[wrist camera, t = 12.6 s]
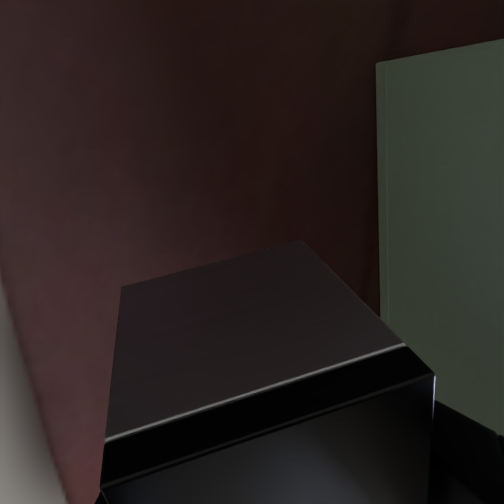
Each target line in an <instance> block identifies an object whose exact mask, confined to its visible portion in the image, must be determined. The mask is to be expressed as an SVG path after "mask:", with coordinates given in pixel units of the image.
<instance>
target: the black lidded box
mask: <svg viewBox="0 0 504 504" xmlns="http://www.w3.org/2000/svg"><path fill="white" fill-rule="evenodd" d="M435 380H436V376H435V373H434V371H433V370H431V369H430V368H429V367H428V366H427V365H426V364H425V363H424V362H423V361H422V360H421V359H420V358H419V357H418V356H417V355H416V354H415V353H414V352H413V351H412V350H411V349H410V348H409V347H408V346H406V345H405V343H404V342H403V341H402V340H401V339H400V338H399V337H398V336H397V335H396V334H395V333H394V332H393V331H392V330H391V329H390V328H389V327H388V326H387V325H386V324H385V323H384V322H383V321H382V320H381V319H380V318H379V317H378V316H377V315H376V314H375V313H374V312H373V311H372V310H371V309H370V308H369V307H368V306H367V305H366V304H365V303H364V302H363V301H362V300H361V299H360V298H359V297H358V296H357V295H356V294H355V293H354V292H353V291H352V290H351V289H350V288H349V287H348V286H347V285H346V284H345V283H344V282H343V281H342V280H341V279H340V278H339V277H338V276H337V275H336V274H335V273H334V272H333V271H332V270H331V269H330V268H329V267H328V266H327V265H326V264H325V263H324V262H323V261H322V260H321V259H320V258H319V257H318V256H317V255H316V254H315V253H314V252H313V251H312V250H311V249H310V248H309V247H308V246H307V245H306V244H305V243H304V242H303V241H302V240H298V241H294V242H290V243H286V244H283V245H279V246H275V247H271V248H267V249H263V250H260V251H256V252H252V253H248V254H244V255H240V256H237V257H233V258H229V259H225V260H221V261H218V262H214V263H210V264H206V265H202V266H198V267H195V268H191V269H187V270H183V271H179V272H176V273H172V274H168V275H164V276H160V277H156V278H153V279H149V280H145V281H141V282H137V283H134V284H130V285H126V286H123V287H121V296H120V305H119V314H118V323H117V332H116V342H115V351H114V360H113V369H112V378H111V387H110V396H109V405H108V415H107V424H106V433H105V445H104V452H103V461H102V470H101V479H100V490H101V492H102V494H103V496H104V498H105V500H106V502H107V503H108V504H428V493H429V476H430V460H431V444H432V428H433V412H434V396H435Z"/></svg>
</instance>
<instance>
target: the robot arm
mask: <svg viewBox="0 0 504 504" xmlns="http://www.w3.org/2000/svg"><path fill="white" fill-rule="evenodd" d="M95 504H108V503H107V502H106V500H105V498H104V496H103V494H102V492H100V494H99V496H98V498H97V500H96V502H95ZM428 504H504V436H503V435H501V434H499V435H498V436H497V433H496V432H495V431H493V430H491V429H489V428H488V427H486V426H484V425H482V424H480V423H478V422H476V421H475V420H473V419H471V418H469V417H467V416H465V415H463V414H461V413H460V412H458V411H456V410H454V409H452V408H450V407H448V406H447V405H445V404H443V403H441V402H439V401H437V400H435V399H434V412H433V428H432V444H431V460H430V476H429V493H428Z"/></svg>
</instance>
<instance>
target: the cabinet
mask: <svg viewBox="0 0 504 504" xmlns="http://www.w3.org/2000/svg"><path fill="white" fill-rule="evenodd" d="M376 112H377V165H378V218H379V271H380V319H381V320H382V321H383V322H384V323H385V324H386V325H387V326H388V327H389V328H390V329H391V330H392V331H393V332H394V333H395V334H396V335H397V336H398V337H399V338H400V339H401V340H402V341H403V342H404V343H405V345H406V346H408V347H409V348H410V349H411V350H412V351H413V352H414V353H415V354H416V355H417V356H418V357H419V358H420V359H421V360H422V361H423V362H424V363H425V364H426V365H427V366H428V367H429V368H430V369H431V370H433V371H434V373H435V376H436V380H435V396H434V399H435V400H437V401H439V402H441V403H443V404H445V405H447V406H448V407H450V408H452V409H454V410H456V411H458V412H460V413H461V414H463V415H465V416H467V417H469V418H471V419H473V420H475V421H476V422H478V423H480V424H482V425H484V426H486V427H488V428H489V429H491V430H493V431H495V432H496V433H497V436H498V435H499V434H501V435H503V436H504V39H499V40H494V41H489V42H483V43H478V44H473V45H468V46H462V47H457V48H452V49H447V50H441V51H436V52H431V53H425V54H420V55H415V56H410V57H404V58H399V59H394V60H389V61H383V62H378V63H376Z"/></svg>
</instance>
